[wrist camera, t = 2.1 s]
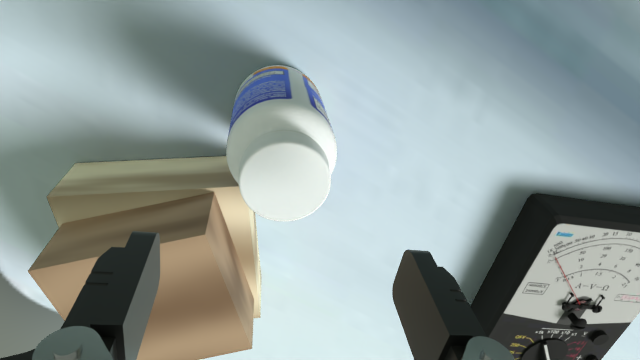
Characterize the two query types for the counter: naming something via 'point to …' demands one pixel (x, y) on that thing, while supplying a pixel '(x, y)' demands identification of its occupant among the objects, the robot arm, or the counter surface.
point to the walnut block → (163, 276)
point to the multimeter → (563, 280)
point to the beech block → (161, 198)
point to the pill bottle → (281, 144)
